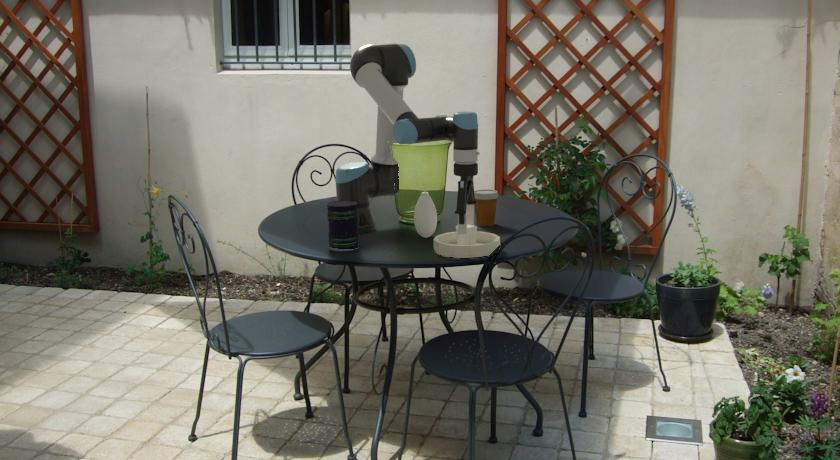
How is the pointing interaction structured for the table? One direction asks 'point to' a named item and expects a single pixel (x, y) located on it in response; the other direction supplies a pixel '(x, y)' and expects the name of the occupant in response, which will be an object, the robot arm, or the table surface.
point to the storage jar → (343, 224)
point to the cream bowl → (450, 248)
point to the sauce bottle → (425, 215)
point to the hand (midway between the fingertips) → (466, 229)
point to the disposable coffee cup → (485, 207)
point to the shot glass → (467, 235)
